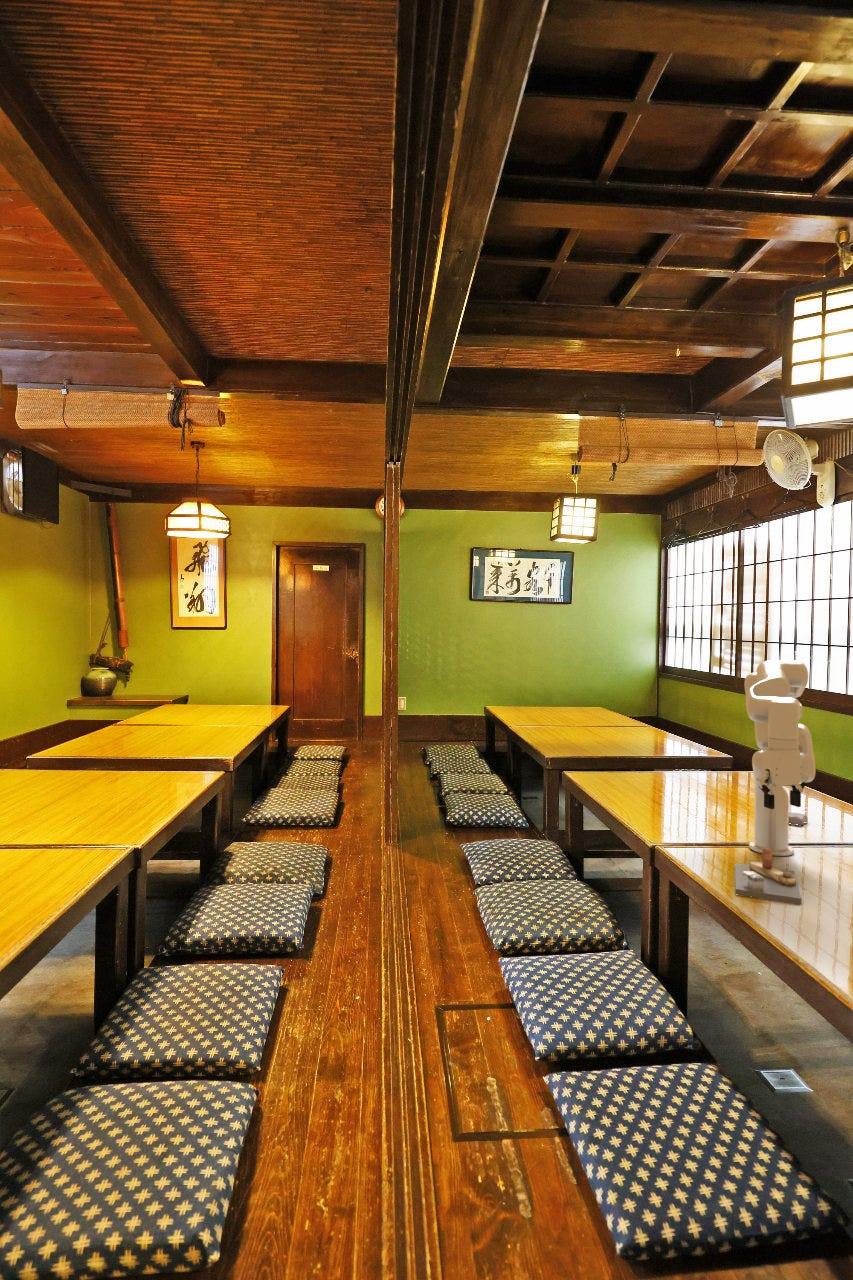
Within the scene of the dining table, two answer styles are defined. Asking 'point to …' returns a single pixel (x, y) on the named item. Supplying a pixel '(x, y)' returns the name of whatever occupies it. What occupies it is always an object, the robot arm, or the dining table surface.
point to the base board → (767, 887)
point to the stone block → (797, 818)
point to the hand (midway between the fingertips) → (782, 806)
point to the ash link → (771, 869)
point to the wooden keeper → (754, 880)
